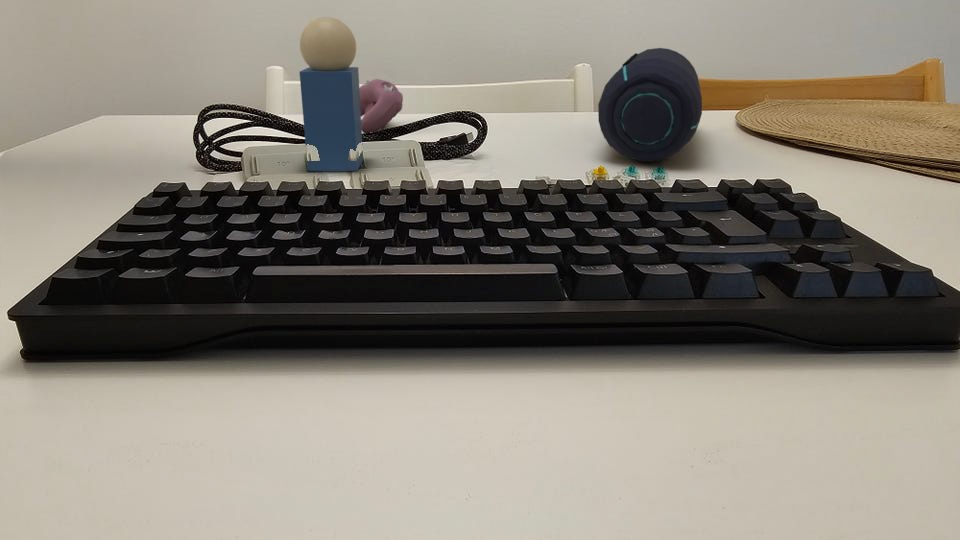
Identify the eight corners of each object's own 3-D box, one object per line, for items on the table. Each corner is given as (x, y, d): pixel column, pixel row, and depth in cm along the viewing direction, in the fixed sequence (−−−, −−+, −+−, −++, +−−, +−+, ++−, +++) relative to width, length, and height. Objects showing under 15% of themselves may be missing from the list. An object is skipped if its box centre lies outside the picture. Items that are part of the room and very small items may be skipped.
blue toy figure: (305, 171, 64) (291, 17, 59) (315, 160, 69) (303, 16, 64) (359, 171, 64) (350, 17, 59) (365, 160, 69) (358, 16, 64)
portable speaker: (614, 125, 90) (620, 45, 86) (693, 129, 87) (703, 47, 84) (589, 166, 67) (596, 59, 63) (696, 173, 65) (709, 62, 61)
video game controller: (392, 145, 84) (415, 91, 83) (359, 131, 81) (382, 75, 80) (364, 132, 92) (384, 83, 91) (333, 119, 89) (354, 68, 88)
